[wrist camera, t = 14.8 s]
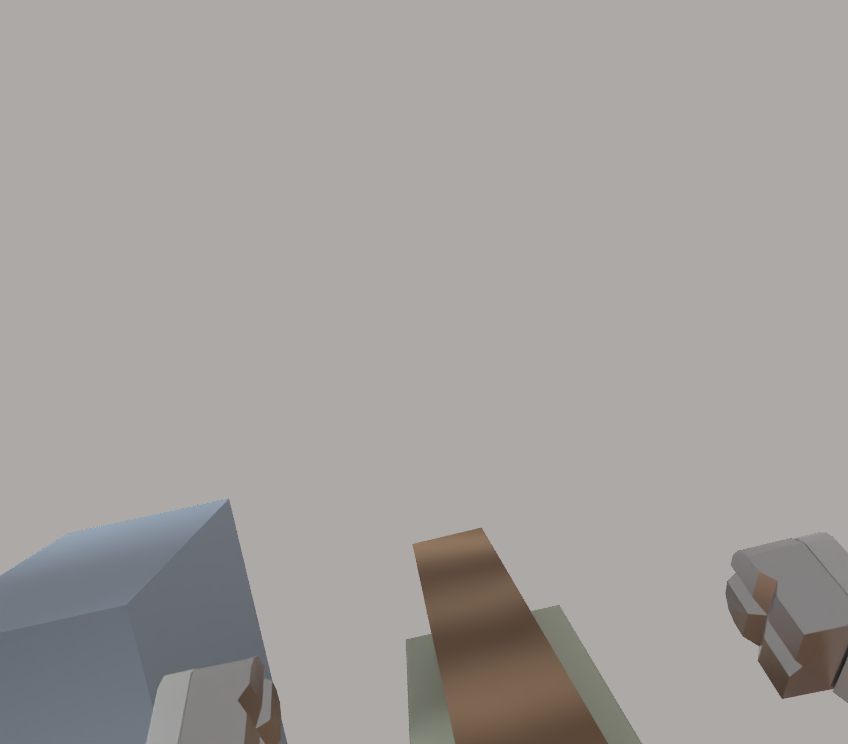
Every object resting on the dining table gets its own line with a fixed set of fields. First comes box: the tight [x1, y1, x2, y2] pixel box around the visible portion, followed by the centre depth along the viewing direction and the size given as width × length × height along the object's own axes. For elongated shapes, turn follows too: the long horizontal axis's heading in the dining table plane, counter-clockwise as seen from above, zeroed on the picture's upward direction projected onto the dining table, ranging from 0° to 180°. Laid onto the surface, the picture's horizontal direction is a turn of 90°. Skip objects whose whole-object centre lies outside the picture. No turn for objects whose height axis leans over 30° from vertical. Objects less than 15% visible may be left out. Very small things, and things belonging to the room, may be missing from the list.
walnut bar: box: [413, 528, 608, 744], centre depth 24 cm, size 24×4×4 cm, turn 5°
